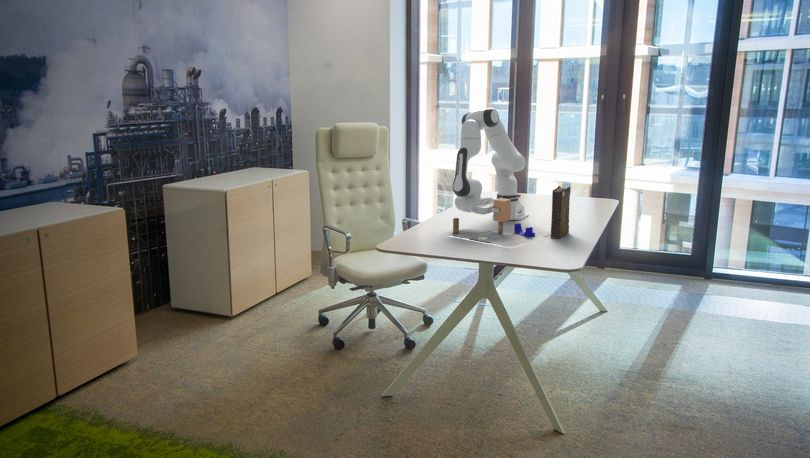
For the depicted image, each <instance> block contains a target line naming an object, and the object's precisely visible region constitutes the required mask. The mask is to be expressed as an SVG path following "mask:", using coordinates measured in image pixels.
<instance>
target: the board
mask: <svg viewBox="0 0 810 458" xmlns="http://www.w3.org/2000/svg"><path fill="white" fill-rule="evenodd" d="M497 224H498V226H497V227H498V228H497V229H498V230H492V231H488V232H485V233H480V234H478V235H474V236H471V237H469V241H473V242H474V241H476V242H479V243H485V244H492V241H496V240H498V239H501V238H505V237H508V236H511V235H513V233H511V232H507V231H506V232H505V231H504V222H499V221H497Z"/></svg>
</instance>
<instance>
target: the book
mask: <svg viewBox="0 0 810 458" xmlns="http://www.w3.org/2000/svg"><path fill="white" fill-rule="evenodd" d="M551 195H552V197H551V202H552V203H551V204H552V205H551V220H550V221H551V223H550V225H551V226H550V238H555V239H561V238H563V237H564V236H566V235H568V234H569V233H570V225H569V223H570V198H571V196H570V195H571V186H568V187H567V188H564V187H561V186H560V185H558V186H557V187H556V188H555V189H552V192H551Z"/></svg>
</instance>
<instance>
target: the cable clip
mask: <svg viewBox="0 0 810 458" xmlns="http://www.w3.org/2000/svg"><path fill="white" fill-rule="evenodd" d="M513 231H514V233H516V234H518V235H521V236H523V237H526V238H532V237H536V233H535V232H534V227H532V226H527V227H526V228H525V231H523V228H522V223H520V222H518V223H516V222H515V223H514V229H513ZM514 233H513V234H514Z"/></svg>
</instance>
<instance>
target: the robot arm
mask: <svg viewBox="0 0 810 458" xmlns="http://www.w3.org/2000/svg"><path fill="white" fill-rule="evenodd" d="M482 130H483V131H484V132H485V133H484V134H485V136H486V138H487V141H488V142H489V145H490V147H491V148H492V150H493V151H495V152H494V153H493V154H492V156H491V164H492V165H493V168H494V170H495V172H496V173H495V174H496V178H497V194H496V199H498V198H505V199H511V220H510V221H514V220H515V221H521V220H523V219H525V218H527V217H529V214H528V213H526V212H525V210H526V209H525V205H523V203H521V201H519V198H521V196H522V195H521V194H520V193H518V180H517V178H516V177H515V175H514V174H515V172H516V173H517V172H521V171H523V170H524V168H525V167H526V163H527V162H526V158H525V156H524V155H522V154H521V153H520V152H519V151H518V149H517V148H516V146H515V145H514V144H513V142H512V141H511V139H510V137H509V135H508V133H507V129H506V128H505V126H504V124H503V122H502V120H501V118H500V115H499V112H498V111H497V110H496V109H495V108H493V107H487V108H480V109H476V110H474V111H469V112H467V113H465V114H463V116H462V118H461V131H460V144H459V145H460V146H459V150H458V151H457V155H456V162H455V172H454V178H453V181H452V191H453V193H454V195H455V196H456V197H455V198H454V205H455V208H456V209H457V210H459V211H460V212H464V213H473V214H475V215H487V214H491V213H493V212H500V208H493V206H494V200H495V199H494V198H493V197H481V195H482V191H483V186H482V183H481V182H480V180H477V179H474V178H473V179H472V178H468V177H467V172H468V166H469V165H468V163H469V160H470V159H472V158H474V157H476V156H477V155H478V154H480V152H481V149H482V148H481V147H482V135H481V131H482Z"/></svg>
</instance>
